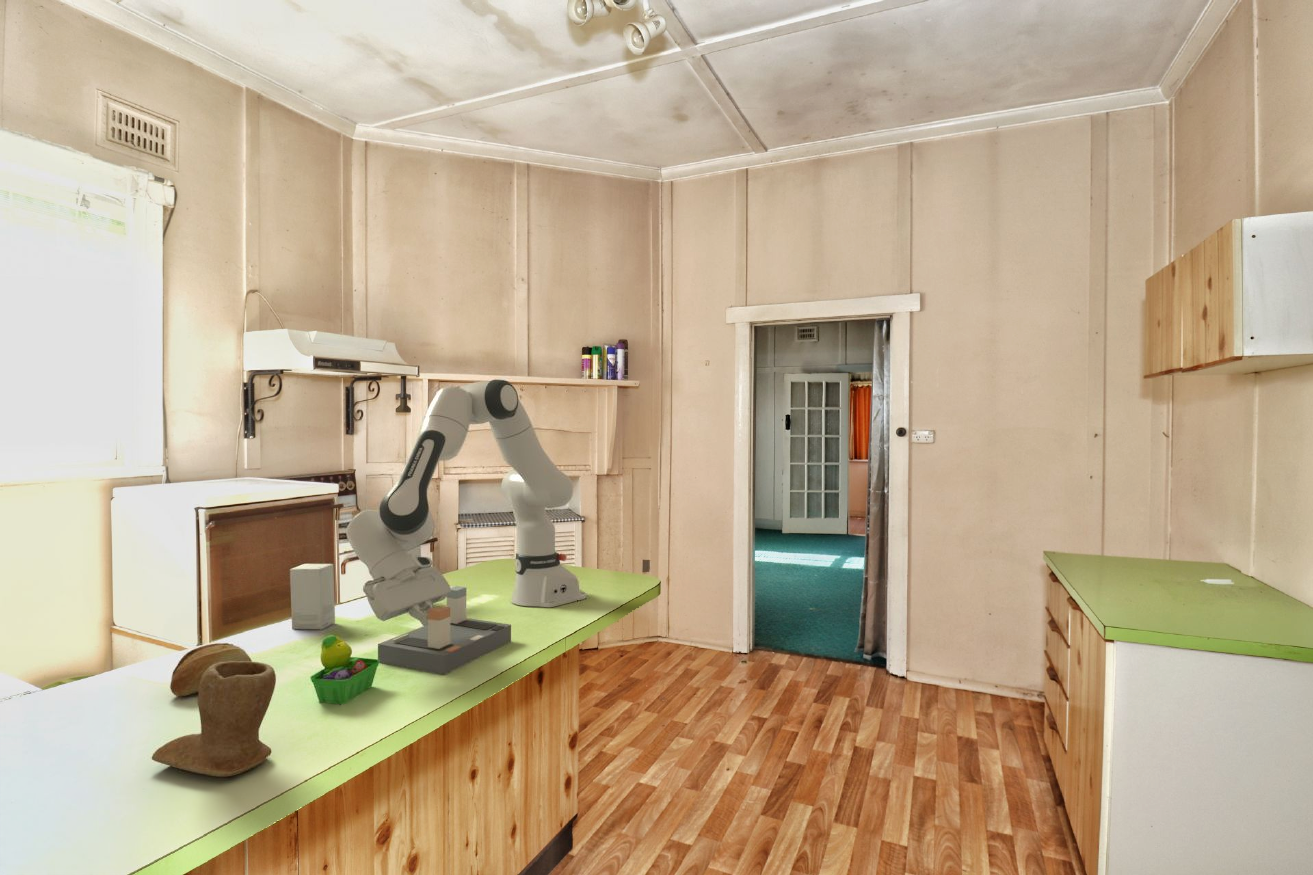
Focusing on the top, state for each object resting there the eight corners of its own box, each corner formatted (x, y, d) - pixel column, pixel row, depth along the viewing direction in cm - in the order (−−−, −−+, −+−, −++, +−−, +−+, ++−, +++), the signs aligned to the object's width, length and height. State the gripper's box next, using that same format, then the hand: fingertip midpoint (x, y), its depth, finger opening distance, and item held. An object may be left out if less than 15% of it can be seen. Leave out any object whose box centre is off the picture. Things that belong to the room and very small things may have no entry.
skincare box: (335, 623, 175) (336, 563, 174) (320, 630, 168) (320, 568, 168) (305, 621, 176) (305, 562, 175) (289, 629, 169) (289, 567, 169)
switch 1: (439, 641, 148) (439, 605, 148) (450, 643, 147) (450, 607, 146) (427, 646, 144) (427, 609, 144) (438, 648, 143) (439, 611, 143)
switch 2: (456, 618, 166) (456, 586, 166) (466, 619, 165) (466, 587, 164) (446, 622, 162) (446, 589, 162) (456, 623, 161) (456, 590, 161)
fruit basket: (344, 708, 123) (344, 647, 123) (302, 703, 125) (302, 643, 125) (381, 684, 135) (382, 628, 134) (342, 680, 136) (342, 625, 136)
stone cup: (293, 752, 107) (293, 658, 106) (222, 791, 95) (223, 686, 95) (223, 736, 112) (223, 647, 111) (148, 771, 100) (148, 671, 100)
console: (450, 631, 169) (450, 612, 169) (511, 640, 162) (511, 621, 162) (377, 662, 147) (377, 640, 147) (444, 674, 140) (444, 651, 140)
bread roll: (155, 696, 128) (155, 654, 128) (232, 670, 141) (232, 632, 141) (187, 705, 124) (187, 662, 124) (263, 677, 138) (263, 638, 137)
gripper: (367, 573, 139) (404, 626, 136) (435, 556, 158) (468, 602, 155) (351, 593, 141) (387, 645, 138) (419, 573, 160) (452, 619, 156)
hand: (430, 622), depth 146 cm, fingers closed
